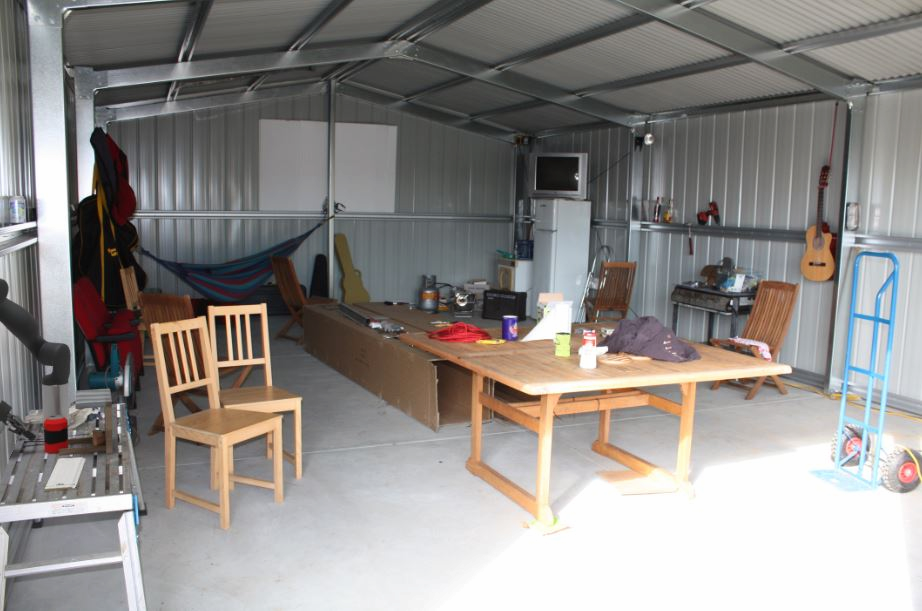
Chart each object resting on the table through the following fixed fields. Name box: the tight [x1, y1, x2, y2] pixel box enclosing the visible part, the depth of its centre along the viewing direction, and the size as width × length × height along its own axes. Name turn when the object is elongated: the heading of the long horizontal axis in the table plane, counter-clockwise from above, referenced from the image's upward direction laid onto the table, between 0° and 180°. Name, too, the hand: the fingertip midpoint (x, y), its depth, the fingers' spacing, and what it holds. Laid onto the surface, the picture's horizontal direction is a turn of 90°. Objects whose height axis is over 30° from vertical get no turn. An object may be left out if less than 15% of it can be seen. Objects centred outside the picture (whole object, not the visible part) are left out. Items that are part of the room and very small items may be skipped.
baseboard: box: [43, 456, 87, 492], centre depth 255 cm, size 30×3×10 cm
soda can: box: [43, 415, 69, 454], centre depth 278 cm, size 8×8×12 cm
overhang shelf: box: [58, 388, 113, 456], centre depth 281 cm, size 20×17×19 cm
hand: (34, 438), depth 275 cm, fingers closed
